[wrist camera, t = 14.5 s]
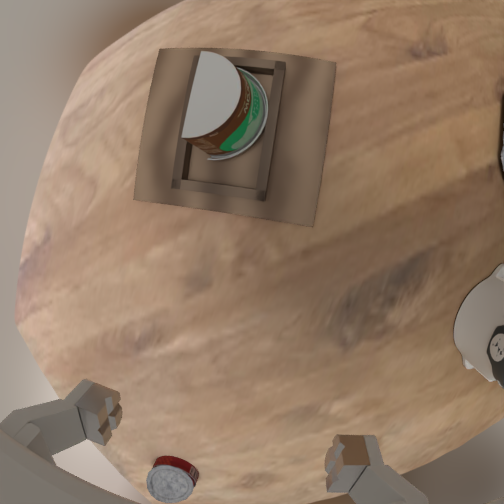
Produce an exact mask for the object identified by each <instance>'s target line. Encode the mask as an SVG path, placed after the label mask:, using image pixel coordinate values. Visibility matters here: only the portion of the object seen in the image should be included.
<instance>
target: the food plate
mask: <svg viewBox="0 0 504 504" xmlns="http://www.w3.org/2000/svg"><path fill="white" fill-rule="evenodd" d="M503 126H504V125H503ZM503 144H504V133H503ZM502 152H503V153H502ZM502 152H501V160H502V165H503V170H504V146H503V149H502Z"/></svg>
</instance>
